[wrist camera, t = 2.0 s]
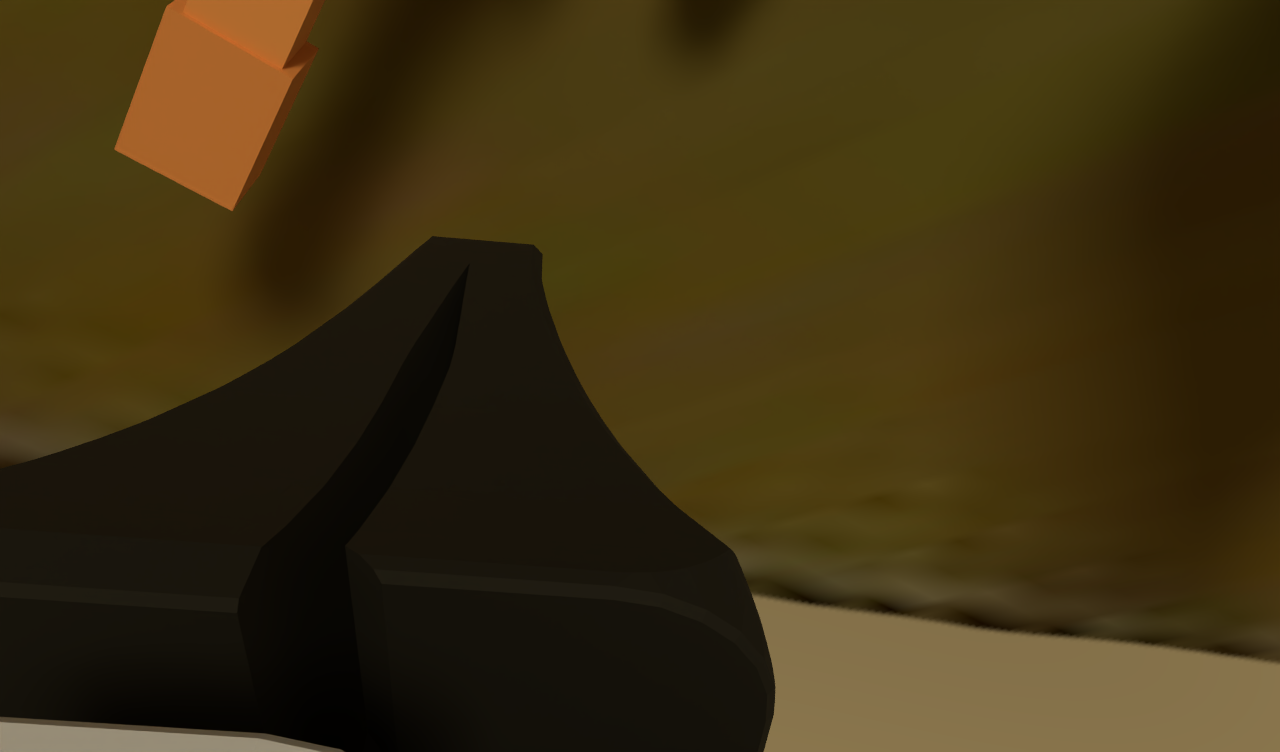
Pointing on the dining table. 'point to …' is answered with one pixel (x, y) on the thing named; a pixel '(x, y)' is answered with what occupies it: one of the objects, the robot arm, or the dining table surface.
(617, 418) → the dining table surface
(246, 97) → the lever
